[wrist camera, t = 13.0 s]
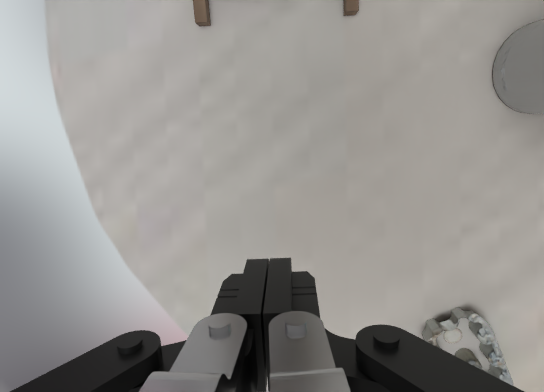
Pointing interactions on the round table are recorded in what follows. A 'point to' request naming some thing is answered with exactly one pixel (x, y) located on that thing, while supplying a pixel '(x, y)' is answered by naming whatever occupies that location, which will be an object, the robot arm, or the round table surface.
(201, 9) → the open wooden frame
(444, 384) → the robot arm
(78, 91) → the round table surface
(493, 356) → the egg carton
